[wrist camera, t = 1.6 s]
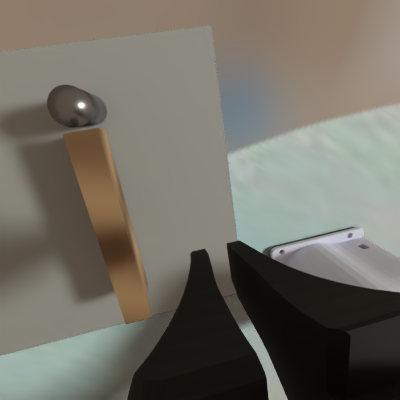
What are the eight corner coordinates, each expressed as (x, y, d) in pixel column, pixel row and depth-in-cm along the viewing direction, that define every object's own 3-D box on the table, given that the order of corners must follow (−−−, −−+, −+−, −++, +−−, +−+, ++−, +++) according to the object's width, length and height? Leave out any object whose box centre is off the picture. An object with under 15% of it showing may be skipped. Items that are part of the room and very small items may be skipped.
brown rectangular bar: (82, 130, 17) (62, 133, 13) (109, 126, 17) (96, 128, 13) (130, 288, 21) (125, 324, 17) (151, 282, 21) (151, 317, 18)
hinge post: (102, 92, 17) (83, 81, 12) (110, 123, 17) (95, 124, 13) (72, 97, 16) (40, 87, 12) (81, 127, 17) (55, 130, 12)
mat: (210, 26, 17) (211, 25, 16) (242, 289, 24) (243, 291, 24) (-203, 78, 14) (-210, 77, 14) (-24, 359, 21) (-27, 362, 21)
